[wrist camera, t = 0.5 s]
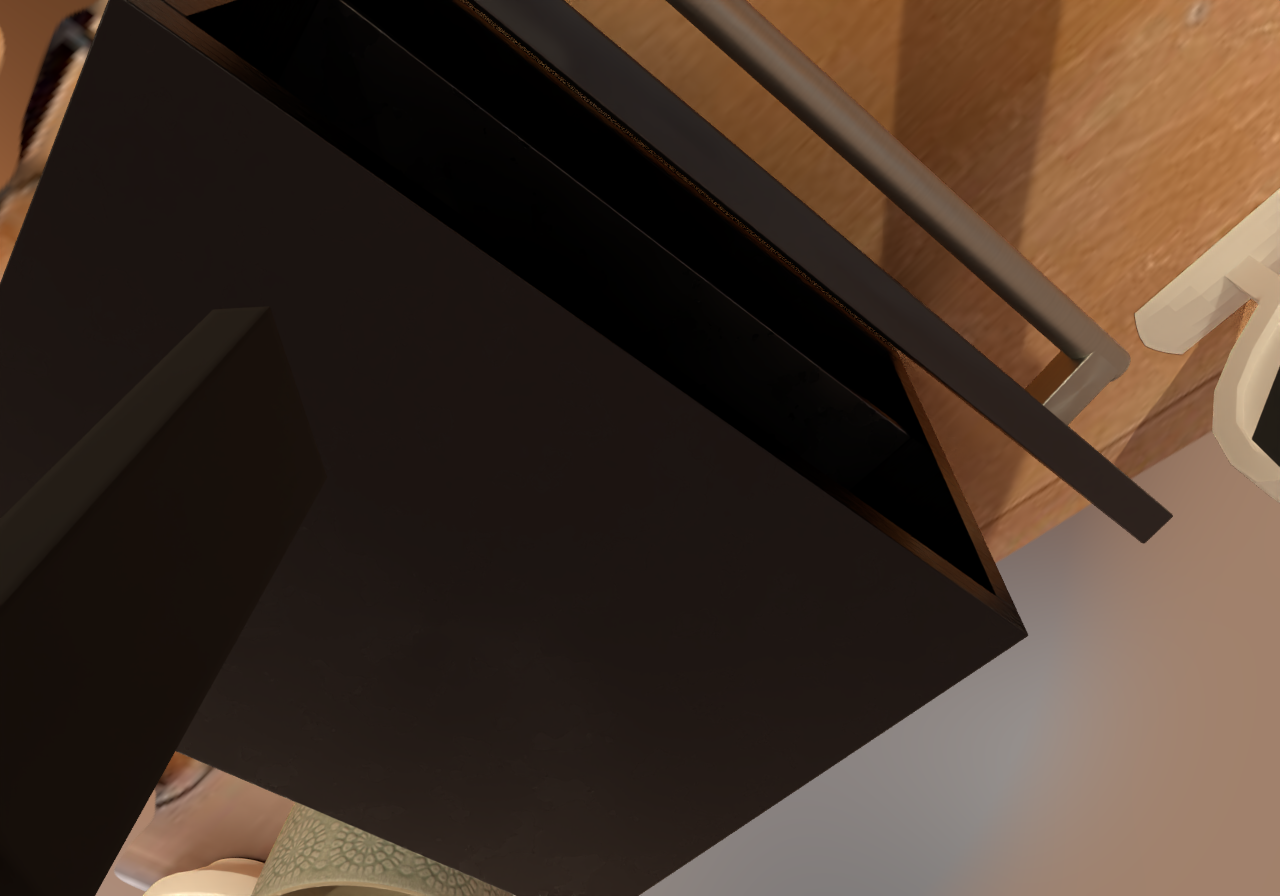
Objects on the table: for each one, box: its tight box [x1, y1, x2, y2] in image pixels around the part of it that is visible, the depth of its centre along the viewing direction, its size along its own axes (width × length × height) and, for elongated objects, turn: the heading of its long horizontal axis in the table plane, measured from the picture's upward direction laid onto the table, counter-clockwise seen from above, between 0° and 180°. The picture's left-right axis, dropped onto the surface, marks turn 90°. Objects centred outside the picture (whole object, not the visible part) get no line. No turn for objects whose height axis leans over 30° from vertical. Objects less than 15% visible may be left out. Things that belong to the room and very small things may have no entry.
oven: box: [0, 0, 1028, 896], centre depth 49 cm, size 32×40×26 cm
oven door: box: [467, 0, 1173, 543], centre depth 40 cm, size 5×40×26 cm, turn 52°
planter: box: [251, 802, 513, 896], centre depth 76 cm, size 21×21×19 cm
